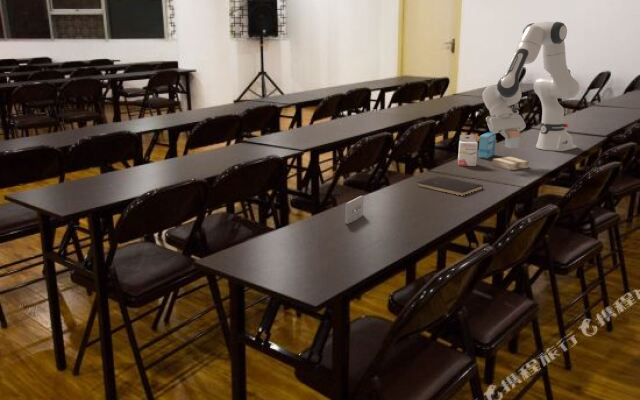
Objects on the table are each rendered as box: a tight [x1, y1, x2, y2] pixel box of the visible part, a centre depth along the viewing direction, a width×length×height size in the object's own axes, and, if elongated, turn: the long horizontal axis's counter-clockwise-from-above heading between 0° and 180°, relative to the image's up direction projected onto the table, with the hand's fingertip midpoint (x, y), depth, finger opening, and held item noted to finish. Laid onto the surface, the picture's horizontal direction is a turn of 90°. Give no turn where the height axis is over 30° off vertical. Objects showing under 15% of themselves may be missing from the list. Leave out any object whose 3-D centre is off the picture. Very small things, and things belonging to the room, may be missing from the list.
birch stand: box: [491, 156, 530, 171], centre depth 289 cm, size 12×12×3 cm
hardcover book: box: [417, 175, 484, 197], centre depth 255 cm, size 16×23×2 cm
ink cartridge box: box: [457, 134, 479, 167], centre depth 291 cm, size 9×5×15 cm, turn 84°
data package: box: [478, 131, 497, 160], centre depth 308 cm, size 12×4×12 cm, turn 144°
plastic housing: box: [504, 130, 521, 149], centre depth 285 cm, size 5×4×8 cm
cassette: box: [344, 195, 364, 225], centre depth 215 cm, size 12×2×8 cm, turn 147°
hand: (513, 138), depth 284 cm, fingers closed on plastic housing, 5 cm apart
